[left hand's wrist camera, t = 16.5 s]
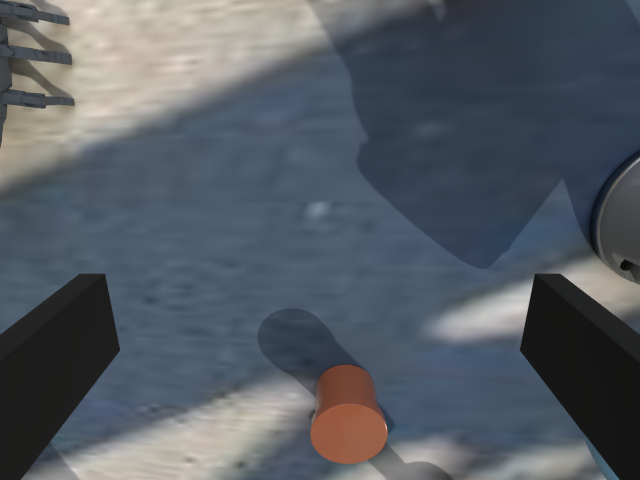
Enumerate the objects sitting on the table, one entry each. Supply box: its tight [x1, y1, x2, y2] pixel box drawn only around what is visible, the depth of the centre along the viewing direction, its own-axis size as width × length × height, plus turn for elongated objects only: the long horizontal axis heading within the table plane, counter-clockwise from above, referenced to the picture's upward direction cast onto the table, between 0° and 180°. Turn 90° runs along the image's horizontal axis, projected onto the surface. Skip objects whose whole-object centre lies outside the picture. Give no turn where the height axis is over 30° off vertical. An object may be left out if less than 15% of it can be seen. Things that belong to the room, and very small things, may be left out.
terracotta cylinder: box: [310, 365, 388, 464], centre depth 46 cm, size 8×8×7 cm
